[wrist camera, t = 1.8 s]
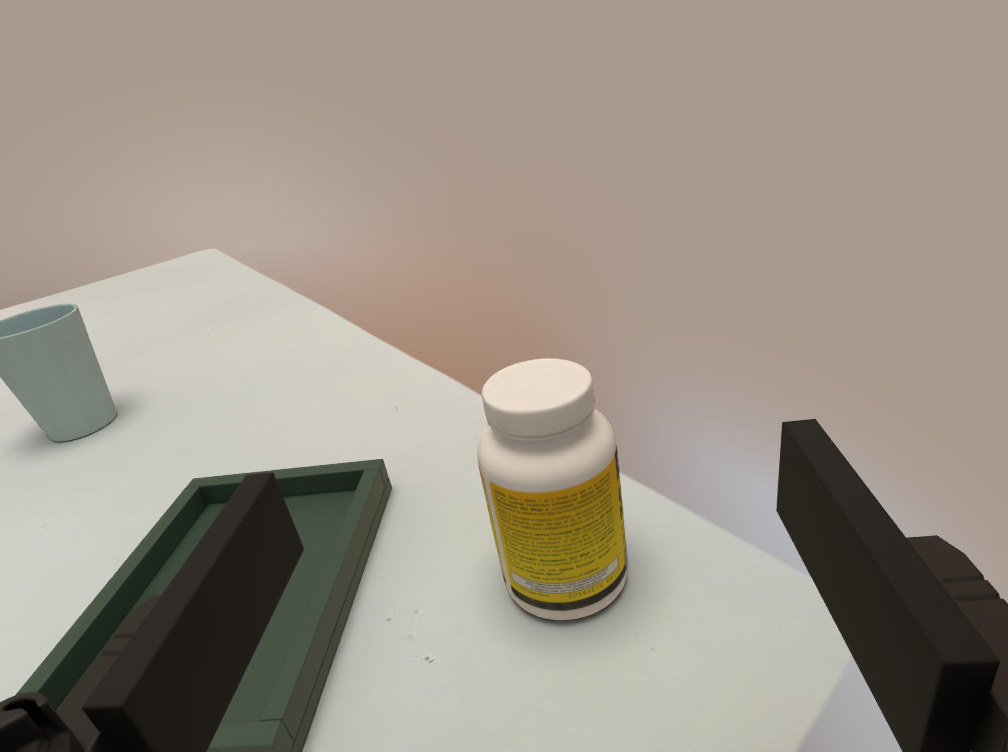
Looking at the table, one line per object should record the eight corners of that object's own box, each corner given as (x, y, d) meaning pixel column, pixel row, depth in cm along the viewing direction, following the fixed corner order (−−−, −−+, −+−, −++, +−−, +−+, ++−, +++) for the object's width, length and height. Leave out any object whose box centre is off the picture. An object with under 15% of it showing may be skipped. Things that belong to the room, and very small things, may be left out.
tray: (291, 781, 23) (271, 745, 22) (-7, 792, 25) (-39, 759, 24) (392, 487, 39) (383, 458, 38) (206, 505, 41) (192, 478, 40)
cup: (13, 452, 52) (-55, 344, 48) (77, 407, 59) (22, 308, 55) (90, 446, 51) (27, 335, 47) (146, 400, 58) (96, 299, 53)
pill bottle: (656, 584, 29) (643, 382, 24) (546, 649, 27) (507, 442, 22) (581, 515, 34) (557, 337, 29) (484, 566, 32) (440, 382, 27)
